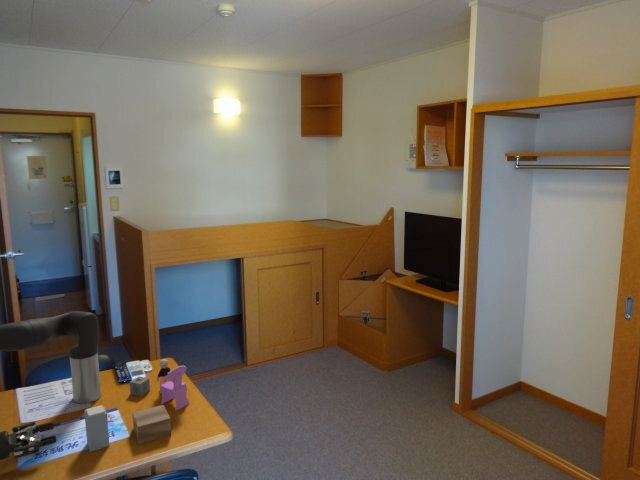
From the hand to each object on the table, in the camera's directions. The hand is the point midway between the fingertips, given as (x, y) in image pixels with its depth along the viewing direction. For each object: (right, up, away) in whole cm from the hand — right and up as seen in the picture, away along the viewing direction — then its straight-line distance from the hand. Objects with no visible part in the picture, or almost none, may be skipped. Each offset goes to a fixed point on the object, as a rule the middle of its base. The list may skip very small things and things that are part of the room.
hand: (54, 431), depth 142 cm
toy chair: (+26, -3, +33) cm, 42 cm away
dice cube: (+10, -2, +41) cm, 43 cm away
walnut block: (+24, -6, +15) cm, 29 cm away
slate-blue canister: (+9, -7, +8) cm, 14 cm away
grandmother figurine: (+19, -1, +43) cm, 47 cm away
